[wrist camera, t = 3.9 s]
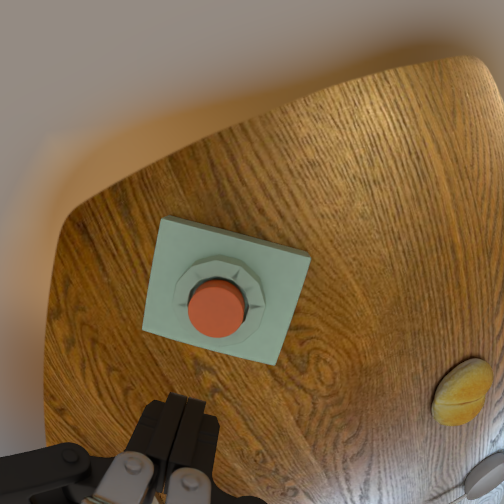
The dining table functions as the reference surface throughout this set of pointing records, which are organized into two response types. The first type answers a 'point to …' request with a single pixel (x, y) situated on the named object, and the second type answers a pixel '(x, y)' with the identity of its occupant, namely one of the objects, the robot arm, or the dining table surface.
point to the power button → (216, 308)
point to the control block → (231, 270)
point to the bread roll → (462, 393)
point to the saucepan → (484, 477)
